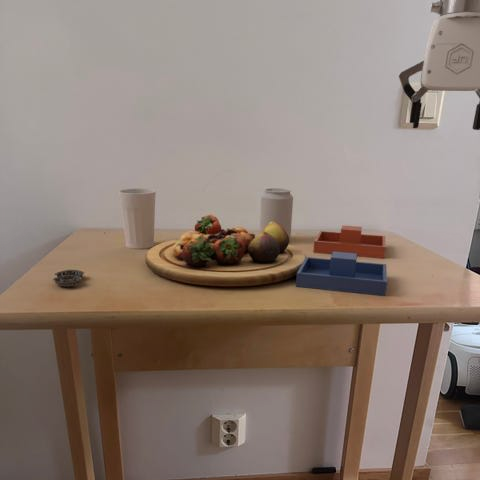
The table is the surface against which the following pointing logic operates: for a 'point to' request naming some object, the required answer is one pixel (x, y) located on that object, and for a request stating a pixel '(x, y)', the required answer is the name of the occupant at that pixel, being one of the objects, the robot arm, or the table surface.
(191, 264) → the wooden plate
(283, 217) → the can
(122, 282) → the table surface
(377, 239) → the terracotta tray
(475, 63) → the robot arm
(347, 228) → the terracotta block
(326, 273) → the blue tray
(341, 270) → the blue block
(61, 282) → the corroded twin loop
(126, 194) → the cup
